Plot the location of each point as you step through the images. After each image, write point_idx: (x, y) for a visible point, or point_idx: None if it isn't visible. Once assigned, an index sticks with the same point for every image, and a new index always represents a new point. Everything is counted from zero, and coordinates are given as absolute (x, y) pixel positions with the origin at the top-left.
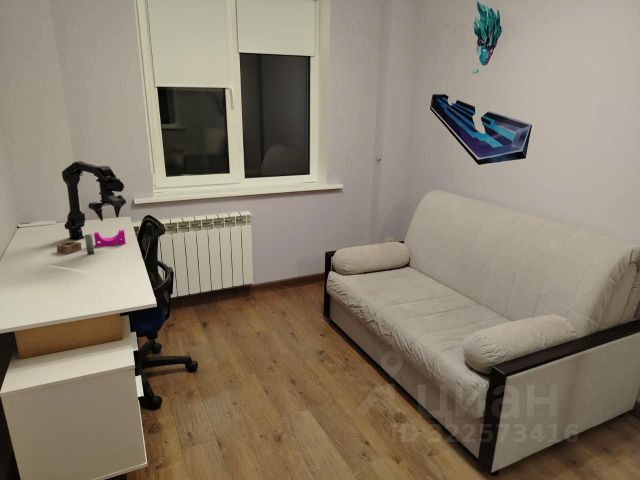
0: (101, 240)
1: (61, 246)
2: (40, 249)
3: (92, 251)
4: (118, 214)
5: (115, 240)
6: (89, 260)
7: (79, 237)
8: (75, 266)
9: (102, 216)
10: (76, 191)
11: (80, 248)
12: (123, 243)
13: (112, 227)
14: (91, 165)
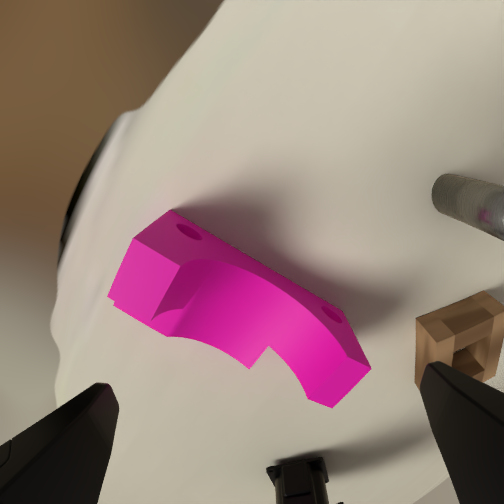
0: (318, 313)
1: (499, 347)
2: None
3: (458, 176)
4: (64, 411)
5: (227, 257)
6: (499, 95)
7: (305, 465)
8: None
9: (482, 403)
10: None
11: (427, 320)
12: (181, 219)
13: (104, 481)
14: None
